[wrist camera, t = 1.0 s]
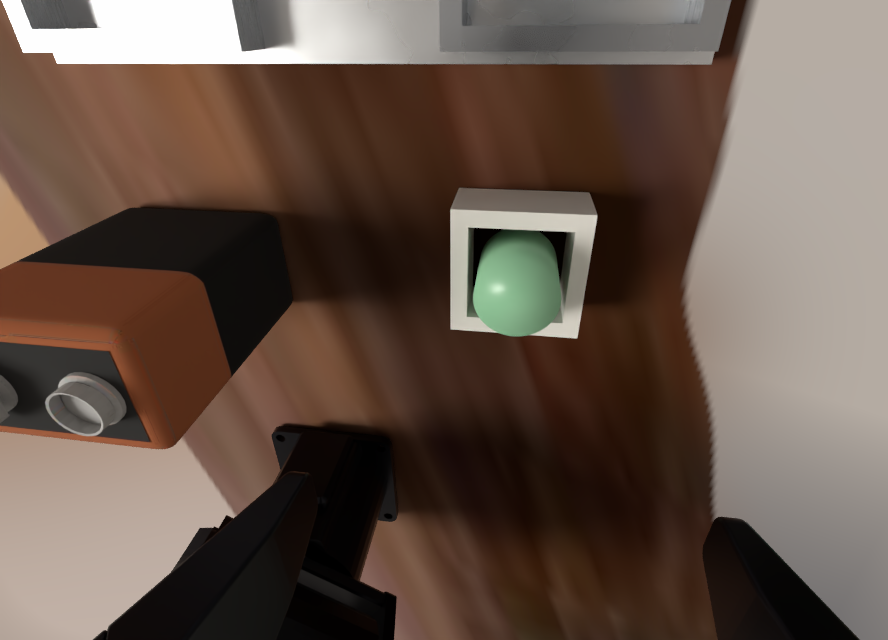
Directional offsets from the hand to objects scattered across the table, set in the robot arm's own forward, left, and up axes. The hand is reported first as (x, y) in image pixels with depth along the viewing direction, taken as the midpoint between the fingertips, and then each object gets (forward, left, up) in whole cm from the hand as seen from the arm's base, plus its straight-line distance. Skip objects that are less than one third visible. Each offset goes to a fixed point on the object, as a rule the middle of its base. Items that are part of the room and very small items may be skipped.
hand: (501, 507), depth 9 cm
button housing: (0, 0, -12) cm, 12 cm away
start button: (0, 0, -11) cm, 11 cm away
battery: (-1, +13, -12) cm, 18 cm away
